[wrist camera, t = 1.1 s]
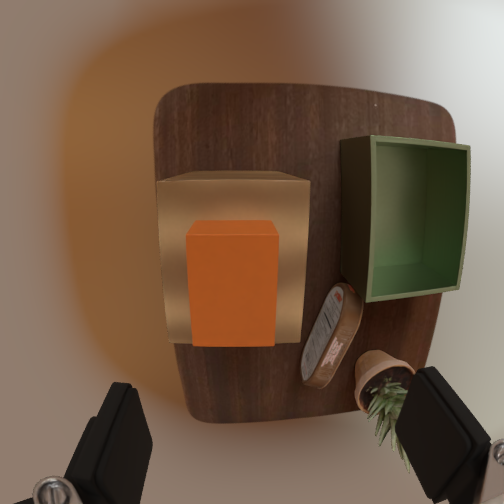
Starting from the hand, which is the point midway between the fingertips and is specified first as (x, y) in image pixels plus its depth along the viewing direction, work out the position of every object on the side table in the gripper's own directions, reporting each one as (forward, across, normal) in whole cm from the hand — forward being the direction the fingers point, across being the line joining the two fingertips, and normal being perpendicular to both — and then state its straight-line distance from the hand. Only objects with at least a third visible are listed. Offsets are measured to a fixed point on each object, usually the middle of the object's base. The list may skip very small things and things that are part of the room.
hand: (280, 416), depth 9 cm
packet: (+13, +2, 0) cm, 13 cm away
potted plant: (+31, -19, +22) cm, 43 cm away
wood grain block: (+31, +2, 0) cm, 31 cm away
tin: (+31, -10, +14) cm, 36 cm away
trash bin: (+31, -18, -2) cm, 36 cm away
